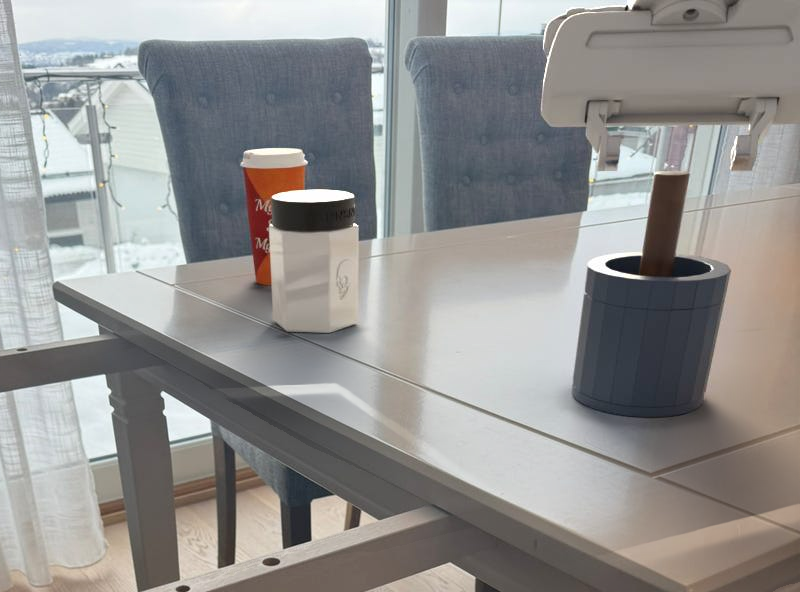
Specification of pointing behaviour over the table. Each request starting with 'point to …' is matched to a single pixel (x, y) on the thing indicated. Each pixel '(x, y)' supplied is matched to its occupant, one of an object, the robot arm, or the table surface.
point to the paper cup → (268, 196)
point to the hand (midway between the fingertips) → (674, 165)
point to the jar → (314, 260)
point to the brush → (663, 223)
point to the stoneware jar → (648, 335)
